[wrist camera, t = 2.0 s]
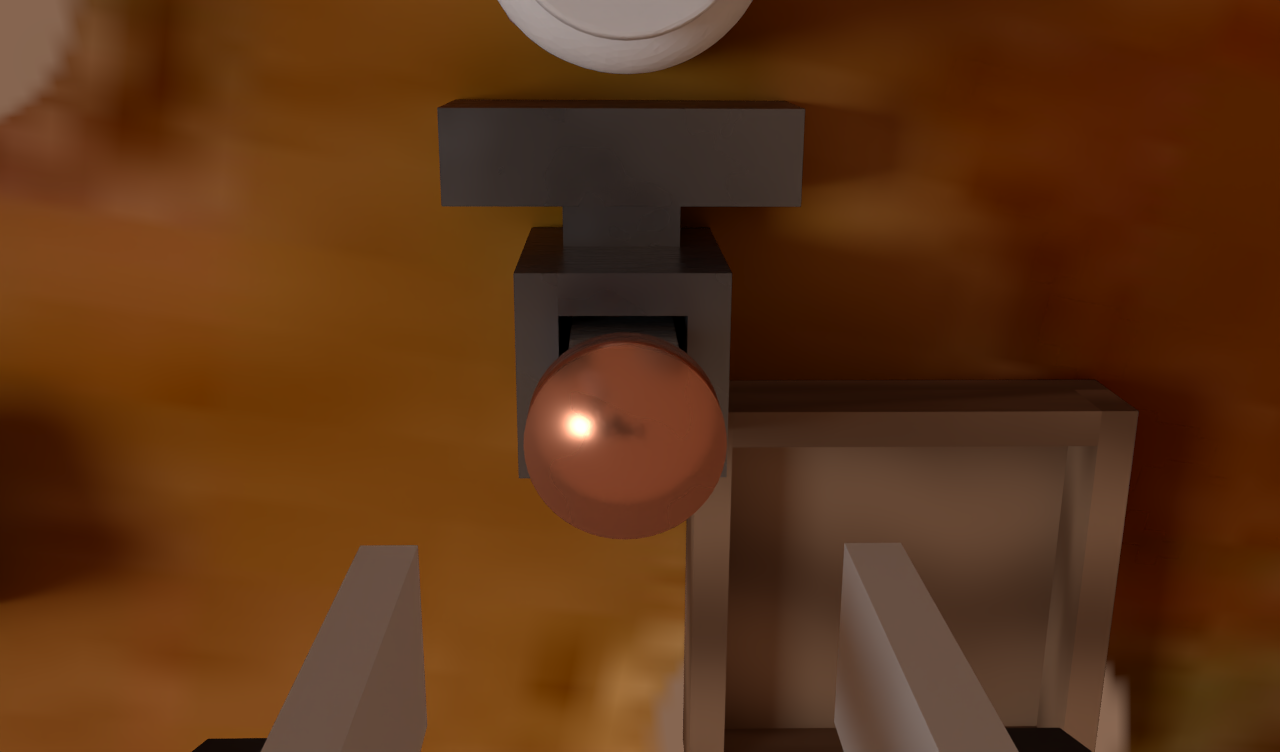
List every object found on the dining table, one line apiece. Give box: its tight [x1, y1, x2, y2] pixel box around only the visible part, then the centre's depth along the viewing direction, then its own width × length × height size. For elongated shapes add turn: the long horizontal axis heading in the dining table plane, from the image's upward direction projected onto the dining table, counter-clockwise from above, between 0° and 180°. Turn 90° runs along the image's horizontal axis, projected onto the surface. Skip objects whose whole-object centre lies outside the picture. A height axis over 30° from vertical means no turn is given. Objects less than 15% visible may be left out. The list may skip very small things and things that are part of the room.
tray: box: [683, 380, 1139, 752], centre depth 35 cm, size 12×12×3 cm
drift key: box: [524, 316, 727, 539], centre depth 27 cm, size 4×4×7 cm
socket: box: [437, 100, 805, 478], centre depth 29 cm, size 19×9×6 cm, turn 0°
